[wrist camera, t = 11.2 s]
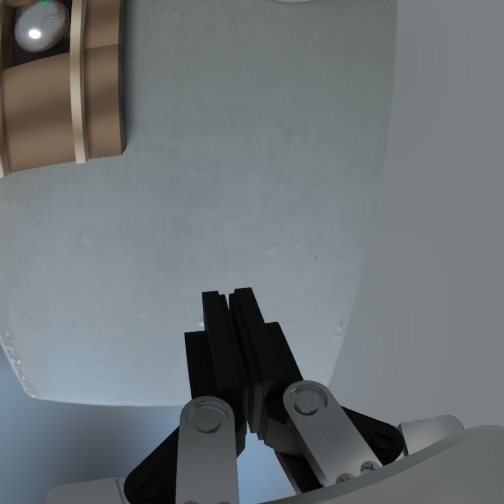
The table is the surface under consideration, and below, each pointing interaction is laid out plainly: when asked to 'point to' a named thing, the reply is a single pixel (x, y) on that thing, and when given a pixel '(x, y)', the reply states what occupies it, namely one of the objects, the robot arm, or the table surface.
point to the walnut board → (64, 92)
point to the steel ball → (42, 25)
